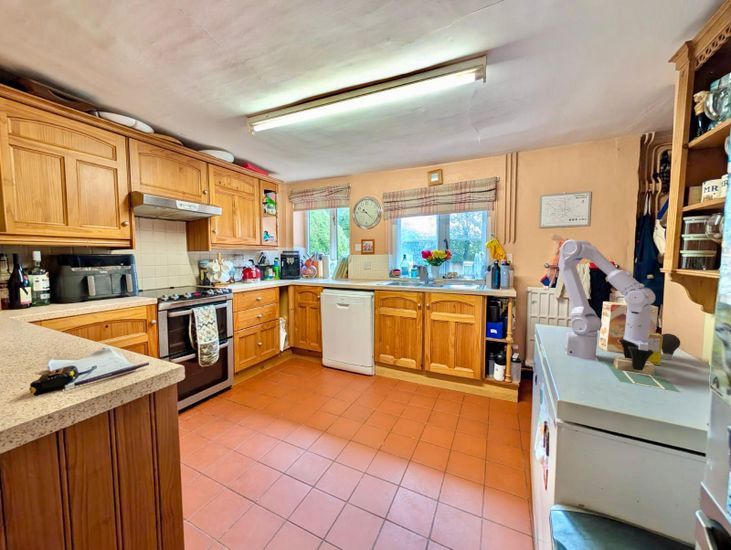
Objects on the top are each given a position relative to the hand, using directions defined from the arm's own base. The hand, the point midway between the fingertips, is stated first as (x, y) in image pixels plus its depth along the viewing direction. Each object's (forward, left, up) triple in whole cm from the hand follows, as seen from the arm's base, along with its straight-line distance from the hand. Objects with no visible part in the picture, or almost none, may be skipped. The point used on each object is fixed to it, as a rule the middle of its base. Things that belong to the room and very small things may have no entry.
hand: (633, 365), depth 95 cm
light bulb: (+15, +21, -2) cm, 26 cm away
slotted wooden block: (0, 0, -1) cm, 1 cm away
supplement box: (+7, +13, -2) cm, 15 cm away
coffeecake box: (+4, +24, -2) cm, 25 cm away
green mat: (0, -5, -2) cm, 5 cm away
